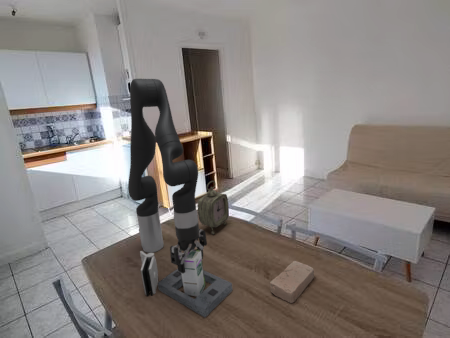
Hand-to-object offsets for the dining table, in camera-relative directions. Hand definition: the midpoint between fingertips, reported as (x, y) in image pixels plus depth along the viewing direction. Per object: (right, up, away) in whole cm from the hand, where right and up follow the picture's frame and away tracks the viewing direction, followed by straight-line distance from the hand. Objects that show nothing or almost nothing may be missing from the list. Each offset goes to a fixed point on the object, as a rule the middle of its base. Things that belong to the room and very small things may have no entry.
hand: (191, 265), depth 91 cm
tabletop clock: (+6, +2, +45) cm, 46 cm away
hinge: (-16, -10, +8) cm, 21 cm away
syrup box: (+1, -10, +3) cm, 10 cm away
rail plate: (+1, -10, +3) cm, 10 cm away
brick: (+35, -8, +2) cm, 36 cm away
